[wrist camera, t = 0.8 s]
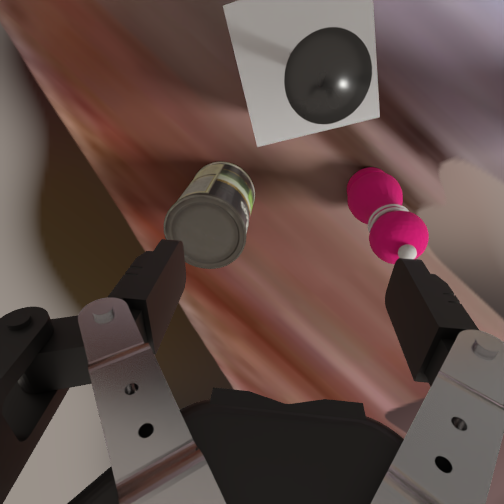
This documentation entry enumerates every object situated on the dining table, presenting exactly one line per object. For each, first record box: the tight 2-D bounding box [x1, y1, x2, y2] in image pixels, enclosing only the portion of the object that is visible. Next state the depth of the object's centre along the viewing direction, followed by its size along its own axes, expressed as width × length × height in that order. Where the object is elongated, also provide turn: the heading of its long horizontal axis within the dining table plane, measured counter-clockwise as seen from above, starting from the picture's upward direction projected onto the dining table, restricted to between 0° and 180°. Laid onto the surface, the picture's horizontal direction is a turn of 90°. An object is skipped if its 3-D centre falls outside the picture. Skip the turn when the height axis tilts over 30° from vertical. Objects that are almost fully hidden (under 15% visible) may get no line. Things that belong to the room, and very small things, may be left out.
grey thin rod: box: [284, 27, 372, 124], centre depth 23 cm, size 9×9×22 cm
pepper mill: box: [347, 167, 428, 264], centre depth 41 cm, size 7×7×20 cm
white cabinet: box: [223, 0, 380, 147], centre depth 34 cm, size 12×16×16 cm
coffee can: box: [164, 162, 255, 269], centre depth 46 cm, size 10×10×14 cm
